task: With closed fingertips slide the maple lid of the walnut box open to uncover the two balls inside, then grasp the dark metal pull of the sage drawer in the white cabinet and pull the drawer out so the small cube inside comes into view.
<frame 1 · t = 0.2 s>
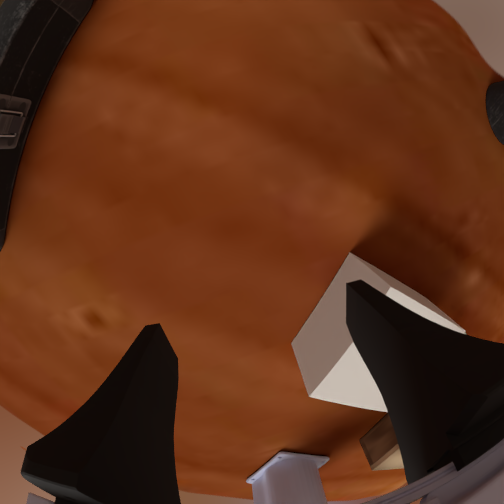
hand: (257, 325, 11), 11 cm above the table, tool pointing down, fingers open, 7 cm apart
white cabinet: (364, 320, 24), on the table
walnut box: (410, 419, 30), on the table
box lid: (427, 448, 24), point 6 cm above the table, slide at 0.0 cm
travel mug: (502, 114, 18), on the table
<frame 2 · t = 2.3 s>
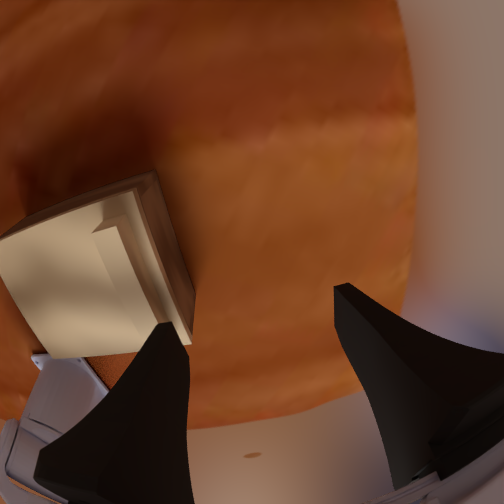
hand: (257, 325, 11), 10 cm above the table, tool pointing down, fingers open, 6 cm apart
walnut box: (103, 255, 20), on the table
box lid: (74, 301, 15), point 6 cm above the table, slide at 0.0 cm
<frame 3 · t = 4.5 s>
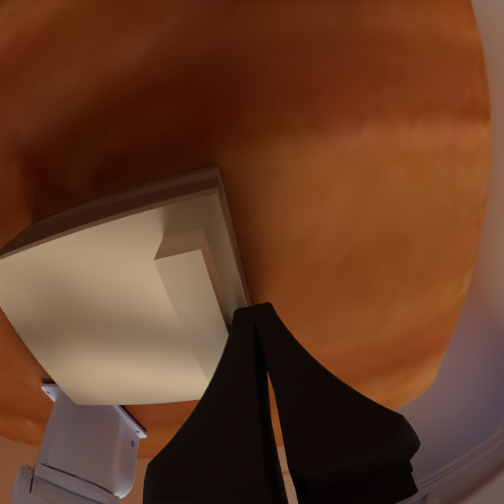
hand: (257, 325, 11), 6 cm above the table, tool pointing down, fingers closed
walnut box: (139, 275, 16), on the table
box lid: (111, 346, 11), point 6 cm above the table, slide at 0.0 cm, touching gripper
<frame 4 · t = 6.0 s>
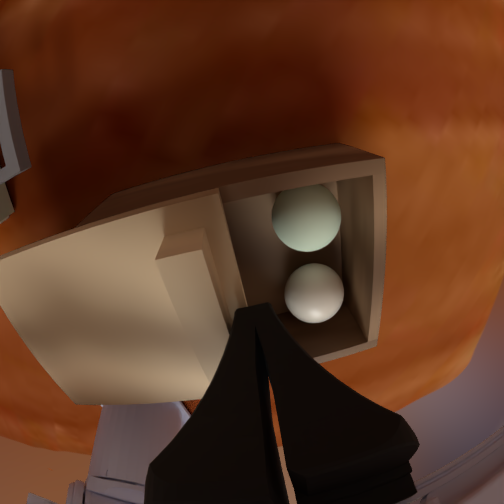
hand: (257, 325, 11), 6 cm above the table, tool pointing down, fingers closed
pale green ball: (297, 205, 14), resting on walnut box
walnut box: (243, 252, 16), on the table
box lid: (111, 346, 11), point 6 cm above the table, slide at 6.2 cm, touching gripper
ivory ball: (306, 277, 17), resting on walnut box
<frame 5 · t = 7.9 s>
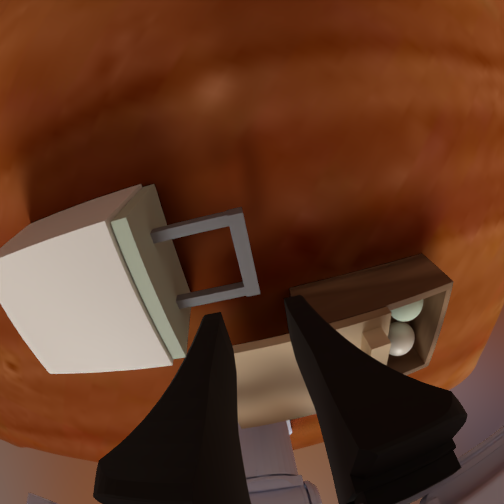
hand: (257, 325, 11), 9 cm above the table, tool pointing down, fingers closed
pale green ball: (396, 291, 22), resting on walnut box
white cabinet: (100, 261, 19), on the table
walnut box: (360, 317, 24), on the table
drawer: (129, 275, 16), point 3 cm above the table, slide at 0.0 cm, touching small oak cube
box lid: (309, 388, 19), point 6 cm above the table, slide at 6.2 cm
ivory ball: (391, 327, 24), resting on walnut box
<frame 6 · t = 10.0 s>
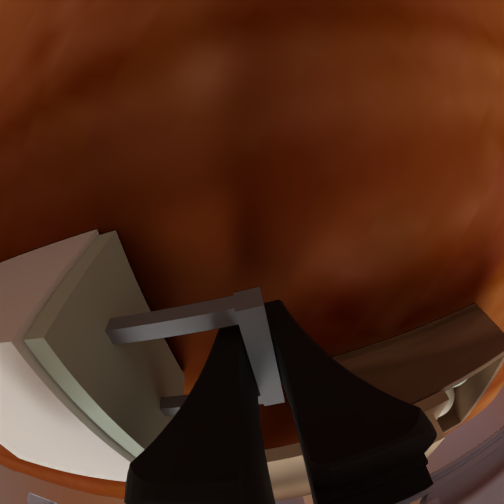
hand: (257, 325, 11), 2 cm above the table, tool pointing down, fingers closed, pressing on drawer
white cabinet: (59, 328, 12), on the table
walnut box: (396, 378, 17), on the table
drawer: (90, 370, 10), point 3 cm above the table, slide at 0.0 cm, touching gripper, small oak cube
box lid: (336, 478, 12), point 6 cm above the table, slide at 6.2 cm
ivory ball: (427, 384, 18), resting on walnut box
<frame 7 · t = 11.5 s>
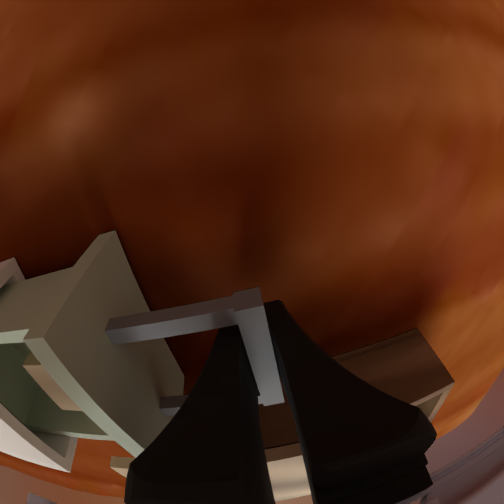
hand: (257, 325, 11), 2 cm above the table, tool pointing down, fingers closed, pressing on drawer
white cabinet: (5, 335, 12), on the table
walnut box: (326, 402, 17), on the table
drawer: (90, 370, 10), point 3 cm above the table, slide at 5.4 cm, touching gripper, small oak cube
box lid: (245, 496, 12), point 6 cm above the table, slide at 6.2 cm
small oak cube: (86, 340, 11), point 1 cm above the table, touching drawer
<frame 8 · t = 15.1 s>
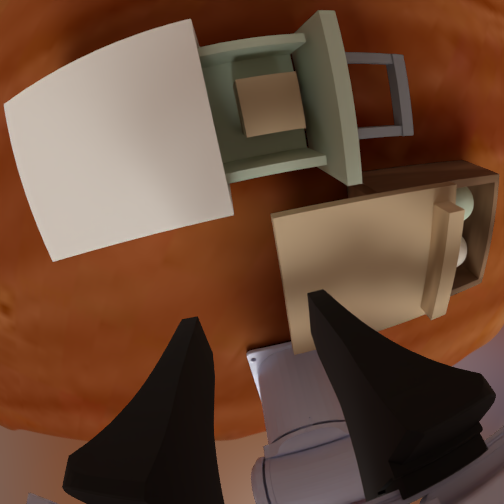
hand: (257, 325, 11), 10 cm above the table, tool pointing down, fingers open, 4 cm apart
pale green ball: (444, 195, 20), resting on walnut box
white cabinet: (138, 135, 16), on the table
walnut box: (412, 223, 21), on the table
drawer: (286, 101, 14), point 3 cm above the table, slide at 5.4 cm, touching small oak cube
box lid: (382, 278, 16), point 6 cm above the table, slide at 6.2 cm
ivory ball: (440, 241, 22), resting on walnut box
small oak cube: (263, 105, 15), point 1 cm above the table, touching drawer
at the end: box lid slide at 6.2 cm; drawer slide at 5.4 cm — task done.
